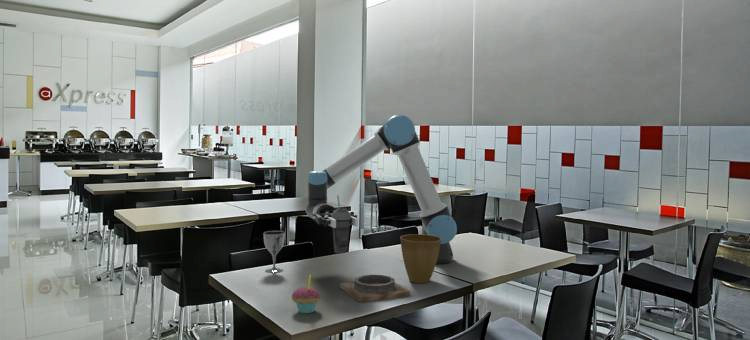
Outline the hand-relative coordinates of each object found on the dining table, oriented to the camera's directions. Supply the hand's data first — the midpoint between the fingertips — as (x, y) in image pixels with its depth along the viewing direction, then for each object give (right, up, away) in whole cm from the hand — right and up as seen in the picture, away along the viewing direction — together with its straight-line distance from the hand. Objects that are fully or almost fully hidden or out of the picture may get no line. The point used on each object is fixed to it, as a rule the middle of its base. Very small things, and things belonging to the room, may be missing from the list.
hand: (345, 223), depth 179 cm
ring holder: (+10, -23, -2) cm, 25 cm away
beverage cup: (-2, -11, +5) cm, 12 cm away
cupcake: (-11, -24, -22) cm, 34 cm away
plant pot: (+27, -23, +13) cm, 37 cm away
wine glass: (-29, -21, +25) cm, 44 cm away
